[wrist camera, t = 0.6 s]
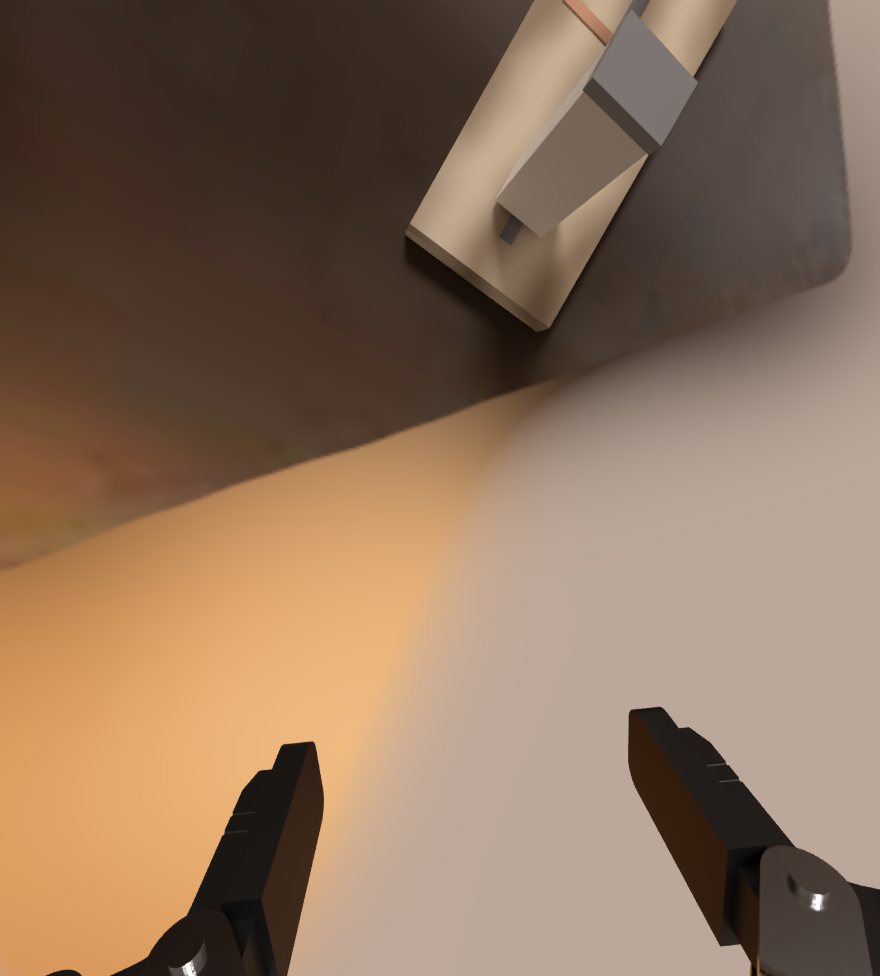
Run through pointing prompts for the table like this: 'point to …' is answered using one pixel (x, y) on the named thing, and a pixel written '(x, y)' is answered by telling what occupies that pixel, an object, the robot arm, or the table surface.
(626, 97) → the fader knob
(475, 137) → the wooden slider board
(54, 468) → the table surface
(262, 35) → the table surface
